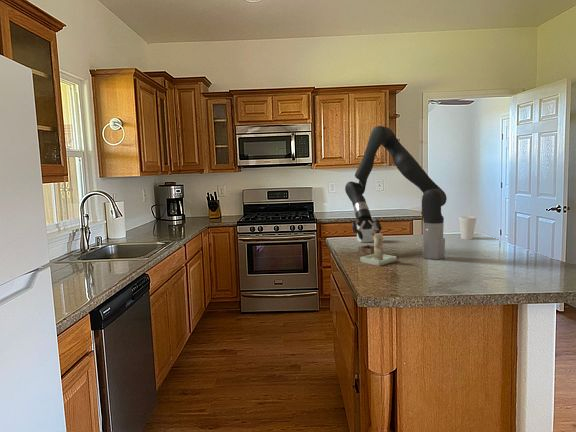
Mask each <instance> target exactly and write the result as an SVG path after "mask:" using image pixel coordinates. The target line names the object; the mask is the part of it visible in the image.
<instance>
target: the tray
mask: <svg viewBox="0 0 576 432" xmlns="http://www.w3.org/2000/svg"><path fill="white" fill-rule="evenodd" d="M397 260H398V258H397V256H395V255H392V254H391V255H390V254H385V253H383V260H374V254H371V255H363V256H360V259H359V261H360V263H365V264H368V265H369V264H370V265H373V266H374V265H375V266H380V267H381V266H383V265H384V266H385V265H388V264H391V263H394V262H397Z"/></svg>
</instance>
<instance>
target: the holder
mask: <svg viewBox="0 0 576 432" xmlns="http://www.w3.org/2000/svg"><path fill="white" fill-rule="evenodd" d="M361 254H362V255H363V256H367V255H371V254H374V245H370V244H367V245H363V246H359V247H358V255H361ZM362 255H361V256H362Z"/></svg>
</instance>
